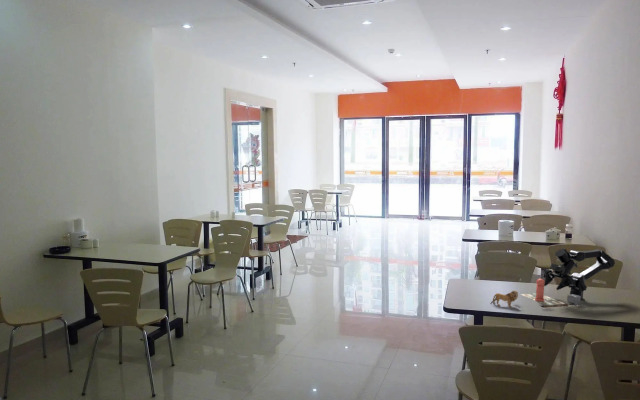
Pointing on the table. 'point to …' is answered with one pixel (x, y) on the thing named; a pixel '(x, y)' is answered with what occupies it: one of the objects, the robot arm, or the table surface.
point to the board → (547, 302)
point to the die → (574, 299)
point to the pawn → (540, 290)
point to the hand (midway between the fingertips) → (550, 287)
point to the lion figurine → (505, 298)
